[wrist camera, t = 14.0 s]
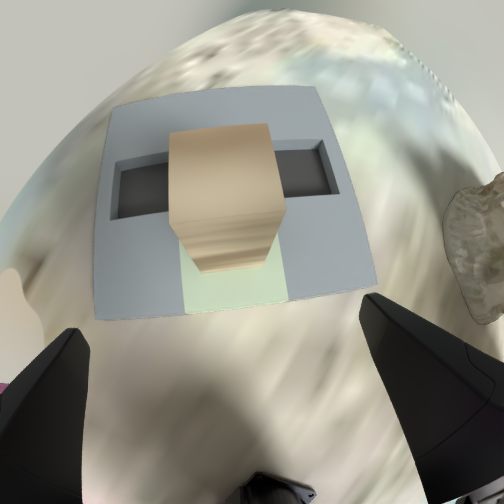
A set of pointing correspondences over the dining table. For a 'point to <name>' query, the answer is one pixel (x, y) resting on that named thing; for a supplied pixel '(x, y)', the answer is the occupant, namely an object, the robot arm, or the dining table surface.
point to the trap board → (168, 244)
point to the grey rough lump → (478, 247)
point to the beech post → (225, 195)
